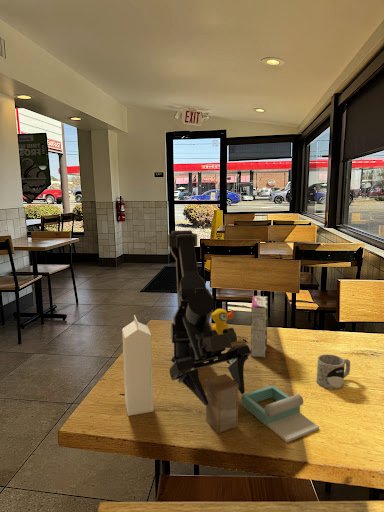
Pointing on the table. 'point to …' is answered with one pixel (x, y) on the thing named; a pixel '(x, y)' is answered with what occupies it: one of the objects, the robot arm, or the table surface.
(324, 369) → the mug
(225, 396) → the brown block
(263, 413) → the teal rectangular frame
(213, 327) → the duckling
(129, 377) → the milk
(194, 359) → the robot arm
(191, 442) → the table surface
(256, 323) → the candy bar box
